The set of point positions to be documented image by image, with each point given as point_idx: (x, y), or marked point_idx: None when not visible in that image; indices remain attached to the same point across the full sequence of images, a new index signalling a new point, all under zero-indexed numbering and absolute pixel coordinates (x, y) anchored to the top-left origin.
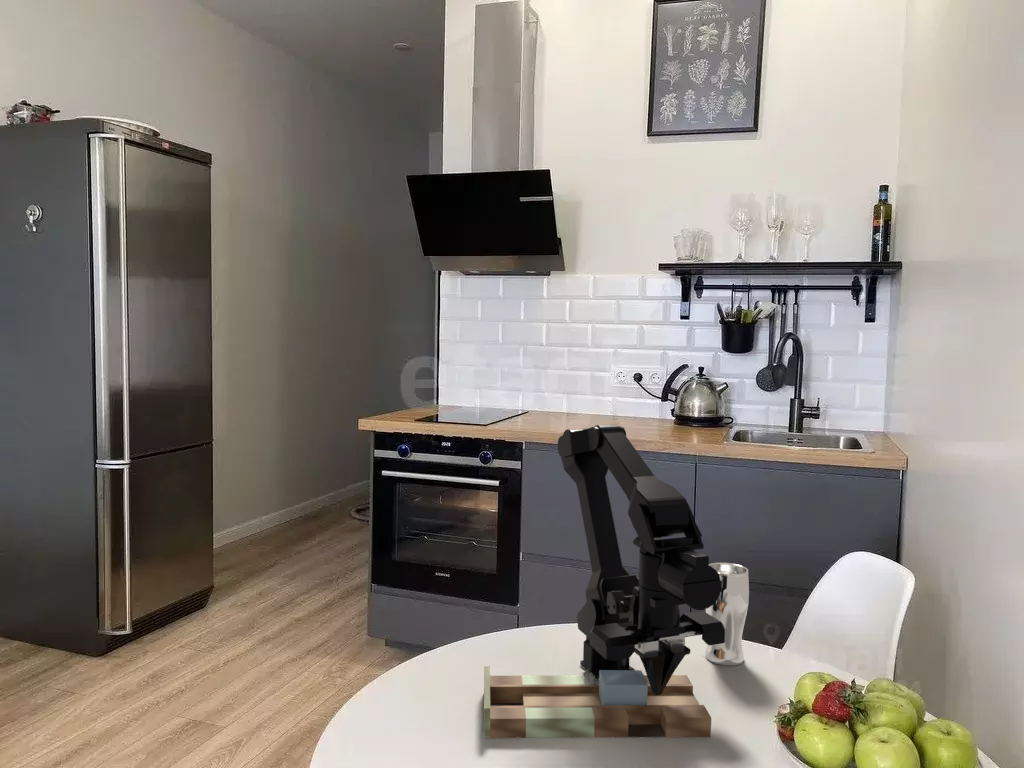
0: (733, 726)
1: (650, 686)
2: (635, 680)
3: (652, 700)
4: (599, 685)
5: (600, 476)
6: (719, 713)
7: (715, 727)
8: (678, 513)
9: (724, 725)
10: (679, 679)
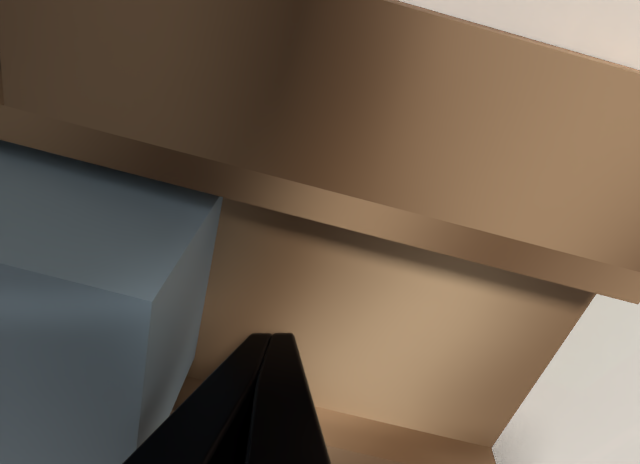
0: (591, 444)
1: (227, 357)
2: (42, 439)
3: (270, 285)
4: None
5: None
6: (632, 352)
7: (506, 430)
8: None
9: (559, 429)
10: (627, 178)
